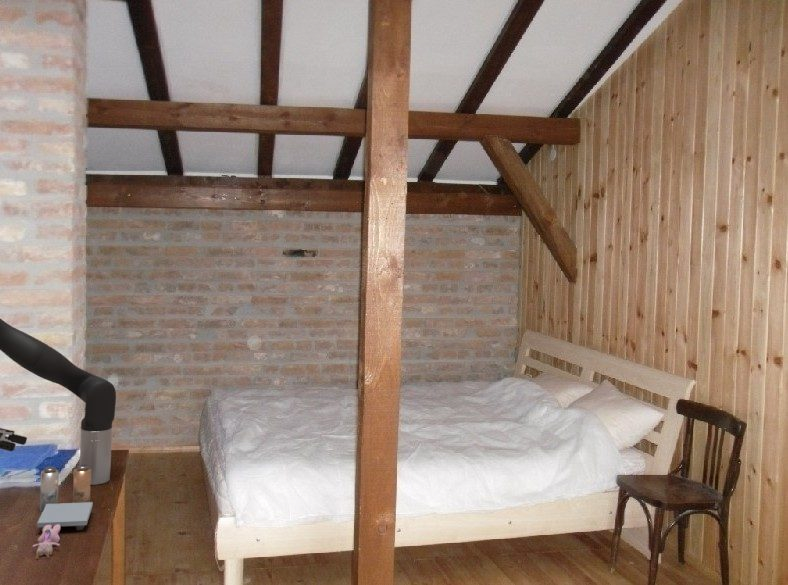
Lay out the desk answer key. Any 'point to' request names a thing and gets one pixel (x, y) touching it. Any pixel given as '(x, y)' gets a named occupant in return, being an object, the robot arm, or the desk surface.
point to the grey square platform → (66, 515)
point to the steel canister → (49, 487)
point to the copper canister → (81, 484)
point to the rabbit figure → (47, 540)
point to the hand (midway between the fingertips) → (20, 444)
